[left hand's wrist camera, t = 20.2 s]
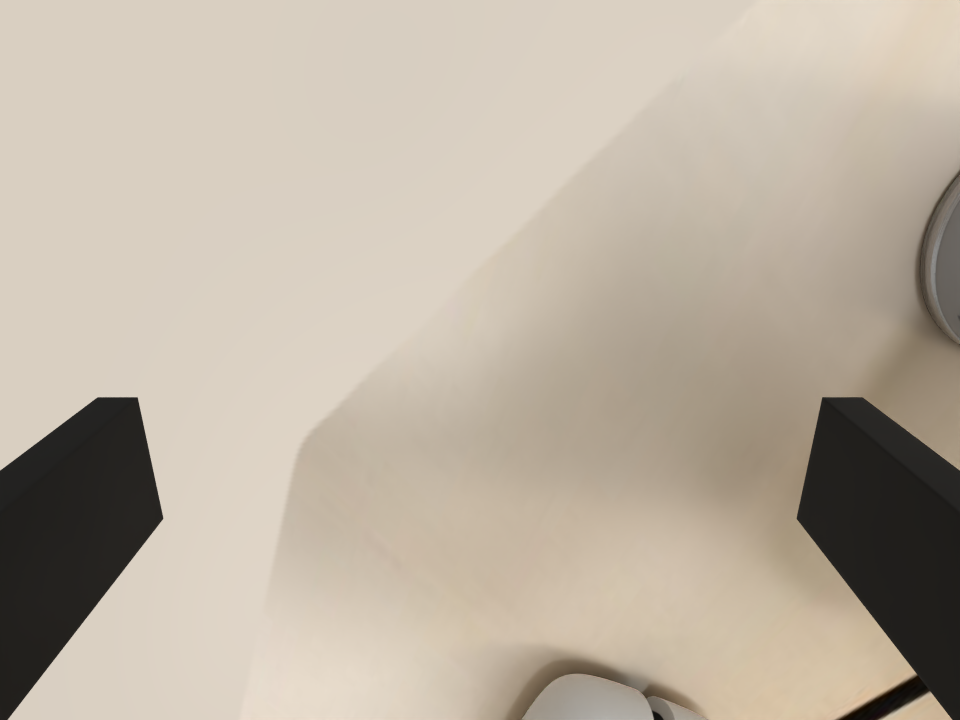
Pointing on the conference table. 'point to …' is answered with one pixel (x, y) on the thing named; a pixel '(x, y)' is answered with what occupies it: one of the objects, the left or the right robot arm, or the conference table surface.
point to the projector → (601, 702)
